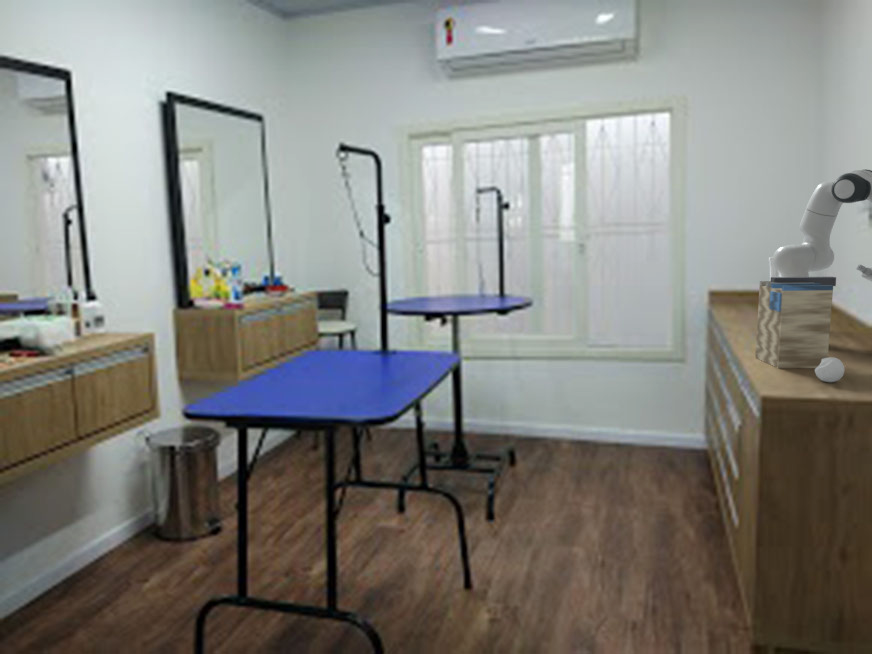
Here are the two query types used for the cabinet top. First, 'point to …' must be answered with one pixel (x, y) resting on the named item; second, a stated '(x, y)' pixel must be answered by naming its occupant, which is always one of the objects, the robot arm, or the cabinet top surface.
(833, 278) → the dark grey piece
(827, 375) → the white round lump
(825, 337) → the riser
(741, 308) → the cabinet top surface
